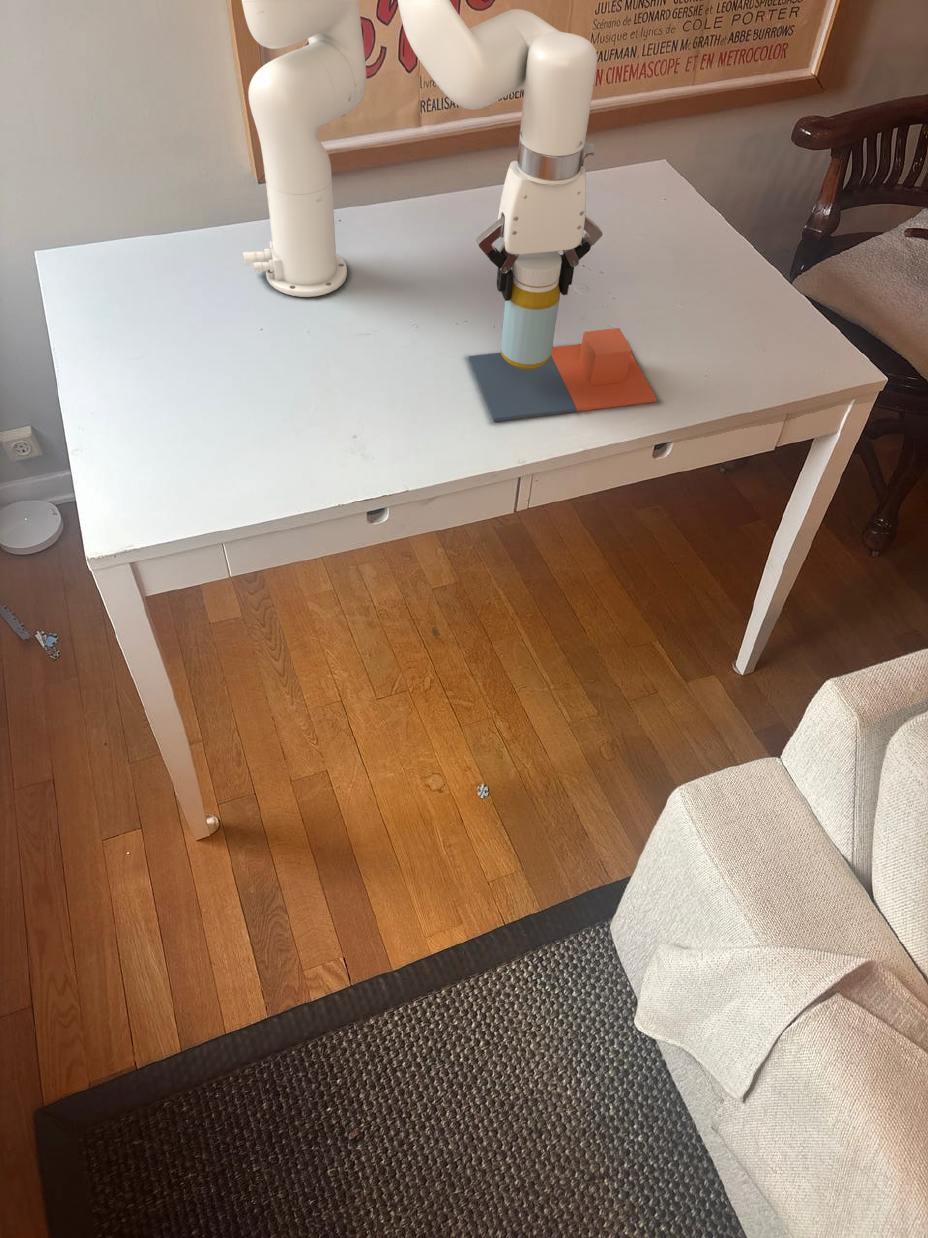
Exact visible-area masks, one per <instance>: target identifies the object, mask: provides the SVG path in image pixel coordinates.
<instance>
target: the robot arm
mask: <svg viewBox="0 0 928 1238" xmlns="http://www.w3.org/2000/svg"><path fill="white" fill-rule="evenodd" d="M397 4H398V10H399V14H400V19H401V23H402V26H403V31H404V34H405V36H406V39H407V41H408V43H409V45H410V47H411V49H412V51H413V53H414V54H415V56H416V57H417V59H418V60H419V62H420V63H421V65H422V66H423V68H424V69H425V70H426V72H427V74H428V75H429V76H430V77H431V79H432V80H433V82H434V83H435V85H436V86H437V87H438V88H439V89H440V91H441V92H442V93H443V94H444V96H446V97H447V98H448V99H449V100H450V101H451V102H453V103H454V104H455V105H457V106H458V107H461V108H463V109H465V110H472V111H475V110H481V109H484V108H486V107H489V106H490V105H492V104H494V103H497V101H499V100H501V99H503V98H505V97H506V96H508V95H510V94H512V93H515V92H519V91H523V97H522V108H521V118H520V127H519V128H520V129H519V139H518V148H517V149H518V150H517V160H512V161H511V162H510V163H509V166H508V169H507V172H506V176H505V179H504V184H503V187H502V191H501V197H500V202H499V208H498V214H497V220H496V221H495V222H494V223H493V224H491V225H490V226H489V227H488V228H487V229H485V230H484V231H483V232H482V233H481V234H479V235H478V236H477V237H476V239H475V240H476V241H475V242H476V243H477V246H478V248H479V249H480V250H481V251H482V252H483V254H484V255H485V256H486V257H487V258H488V259H489V261H490V262H491V263H492V264H493V265H495V266H496V267H497V272H496V273H497V276H496V290H497V291H498V293H501V295H502V297H503V299H504V302H505V301H509V300H510V299H511V294H512V285H513V272H512V266H513V264H514V263H515V261H516V259H517V258H518V256H519V255H520V254H530V253H542V252H553V251H557V252H562V254H560V256H561V260H562V263H561V269H560V276H559V282H558V284H559V289H560V295H562V296H567V295H568V293H569V287H570V286H571V285H572V283H573V278H574V271H575V267H578V266H579V263H580V260H581V259H583V257H584V256H586V255H587V254H588V253H589V252H590V251H591V247H592V246H594V245H595V244H596V243H597V242H598V241H599V240H601V238H602V237H603V231H602V230H601V228H600V226H599V225H598V224H596V222H595V221H593V220H592V219H591V218H590V217H588V216H587V215H586V212H587V173H586V168H585V165H584V162H585V159H586V158H588V157H593V156H594V155H595V153H596V147H595V144H594V143H591V142H590V143H588V142H586V138H587V132H588V125H589V120H590V119H589V118H590V113H591V106H592V100H593V93H594V86H595V79H596V72H597V65H598V54H597V50H596V48H595V46H594V44H593V43H592V42H591V41H590V40H588V39H587V38H585V37H584V36H582V35H577V34H575V33H571V32H570V33H569V32H563V31H560V30H559V29H557V28H556V27H554V26H552V25H551V24H550V23H548V22H547V21H545V20H544V19H542V18H541V17H540V16H538V15H536V14H534V13H533V12H532V11H529V10H525V9H521V8H514V9H509V10H506V11H504V12H502V13H499V14H498V15H496V16H493V17H491V18H488V19H486V20H484V21H482V22H480V23H478V24H476V25H474V26H472V27H470V28H469V27H468V25H466V23H465V21H464V20H463V18H462V17H461V16H460V14H459V13H458V11H457V10H456V8H455V7H454V6H453V3H452V2H451V0H397ZM241 5H242V9H243V14H244V18H245V22H246V25H247V28H248V30H249V32H250V34H251V36H252V38H253V39H254V40H255V41H256V42H257V43H258V44H259V45H260V46H262V47H264V48H267V49H271V50H275V49H277V50H278V49H283V48H287V47H290V46H292V45H293V46H294V45H295V44H298V43H301V42H304V41H305V40H307V41H308V44H307V45H304V46H303V47H299V48H297V49H294V50H292V51H289V52H287V53H284V54H282V55H280V56H278V57H276V58H273V59H272V60H270V61H268V62H267V63H265V64H264V65H262V66H261V67H260V68H259V69H258V70H257V71H256V72H255V73H254V75H252V78H251V80H250V82H249V85H248V92H247V93H248V104H249V108H250V112H251V115H252V118H253V121H254V125H255V127H256V131H257V136H258V140H259V143H260V149H261V156H262V163H263V171H264V179H265V186H266V188H265V189H266V196H267V205H268V214H269V224H270V233H271V240H270V241H268V245H269V247H268V248H263V250H261V251H259V250H258V251H254V250H253V251H243V252H242V254H243V255H242V256H243V261H244V266H253V271H254V273H259V272H265V277H266V280H267V282H268V283H269V285H270V286H271V287H273V288H274V289H275V290H277V291H278V292H280V293H283V294H285V295H289V296H293V297H299V298H300V297H301V298H313V297H319V296H325V295H327V294H330V293H332V292H334V291H336V290H337V289H339V288H340V287H342V285H343V284H344V283H345V282H346V280H347V277H348V276H347V275H348V268H347V267H348V266H347V264H346V261H345V260H344V259H343V258H342V257H341V256H340V255H339V254H338V253H337V249H336V248H337V247H336V229H335V227H336V226H335V213H334V212H335V210H334V209H335V208H334V190H333V176H332V174H333V173H332V164H331V159H330V156H329V154H328V151H327V149H326V147H324V145H323V143H322V142H321V141H320V139H319V134H318V132H319V130H320V129H321V128H323V127H325V126H326V125H328V124H329V123H331V122H333V121H334V120H337V119H339V118H341V117H342V116H345V115H346V114H348V113H350V112H352V111H353V110H355V109H356V108H357V107H358V106H359V105H360V104H361V103H362V101H363V99H364V97H365V94H366V91H367V65H366V56H365V47H364V39H363V38H364V37H363V31H362V30H363V28H362V19H361V12H360V11H361V10H360V2H359V0H241ZM584 232H585V234H584ZM499 238H503V243H502V245H501V246H500V248H499V249H497V248H496V247H495V246H494V245H493V243H494V242H496V241H497V240H498V239H499Z"/></svg>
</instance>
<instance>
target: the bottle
mask: <svg viewBox="0 0 928 1238" xmlns="http://www.w3.org/2000/svg"><path fill="white" fill-rule="evenodd" d="M560 255H561V254H560V253H559V251H553V252H542V253H530V254H520V255H519V256H518V258H517V259H516V261H515V263H514V264H513V266H512V267H511V270H512V272H513V285H512V294H511V299H510V300H509V301H505V300H504V312H503V321H502V333H501V340H500V353H501V355H502V356H503V358H504V359H505V360H506V361H507V362H508V363H509V364H510V365H512V366H514V367H516V368H519V369H536V368H539V367H541V366H542V365H544V364H545V363H547V362H548V361H549V359H550V357H551V352H552V347H554V346H553V345H554V340H555V339H554V338H555V332H556V327H557V326H556V325H557V318H558V311H559V305H560V298H561V293H560V289H559V284H558V282H559V276H560V269H561V263H562V260H561V256H560Z"/></svg>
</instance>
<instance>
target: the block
mask: <svg viewBox="0 0 928 1238" xmlns="http://www.w3.org/2000/svg"><path fill="white" fill-rule="evenodd" d="M581 344H582V345H581V350H580V356H579V361H578V363H579V365H580V367H581V369H582V371H583V373H584V375H585V377H586V379H587V381H588V383H589V385H590V386H595V385H603V384H612V383H620V382H625V380H626V376H627V371H628V367H629V363H630V358H631V354H632V355H633V350H632V348H631V345H630V344H629V343H628V341H627V339H626V337H625V335H624V334H623V332H622V330H621V328H620V327H613V328H605V329H597V330H596V329H595V330H589V331H588V330H587V331H583V335H582V340H581Z"/></svg>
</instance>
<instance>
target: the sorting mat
mask: <svg viewBox="0 0 928 1238" xmlns="http://www.w3.org/2000/svg"><path fill="white" fill-rule="evenodd" d="M581 345H582V343H578V344H567V345H559V346H552V352H551V357H550V359H549V361H548V362H547V363H545V364H544V365H542V366H541V367H539V368H536V369H519V368H516V367H514V366H512V365H510V364H509V363H508V362H507V361H506V360H505V359H504V358H503V356H502V355H501V352H494V353H485V354H475V355H469V356H468V361H469V364H470V366H471V369H472V371H473V374H474V376H475V378H476V382H477V383H478V386H479V389H480V391H481V393H482V396H483V399H484V401H485V404H486V406H487V409H488V411H489V415H490V416H491V419H492V421H493V423H497V422H504V421H512V420H520V419H528V418H529V419H530V418H535V417H544V416H553V415H560V414H568V413H576V412H585V411H593V410H602V409H608V408H609V409H610V408H617V407H624V406H625V407H626V406H632V405H642V404H650V403H656V402H657V399H658V398H657V396H656V395H655V393H654V391H653V389H652V387H651V386H650V384H649V382H648V380H647V378H646V377H645V375H644V373H643V371H642V370H641V368H640V366H639V364H638V362H637V361H636V359H635V356H633V353H632V354H631V358H630V363H629V367H628V371H627V376H626V380H625V382H620V383H612V384H603V385H595V386H590V385H589V383H588V381H587V379H586V377H585V375H584V373H583V371H582V369H581V367H580V365H579V363H578V361H579V356H580V350H581Z"/></svg>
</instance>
